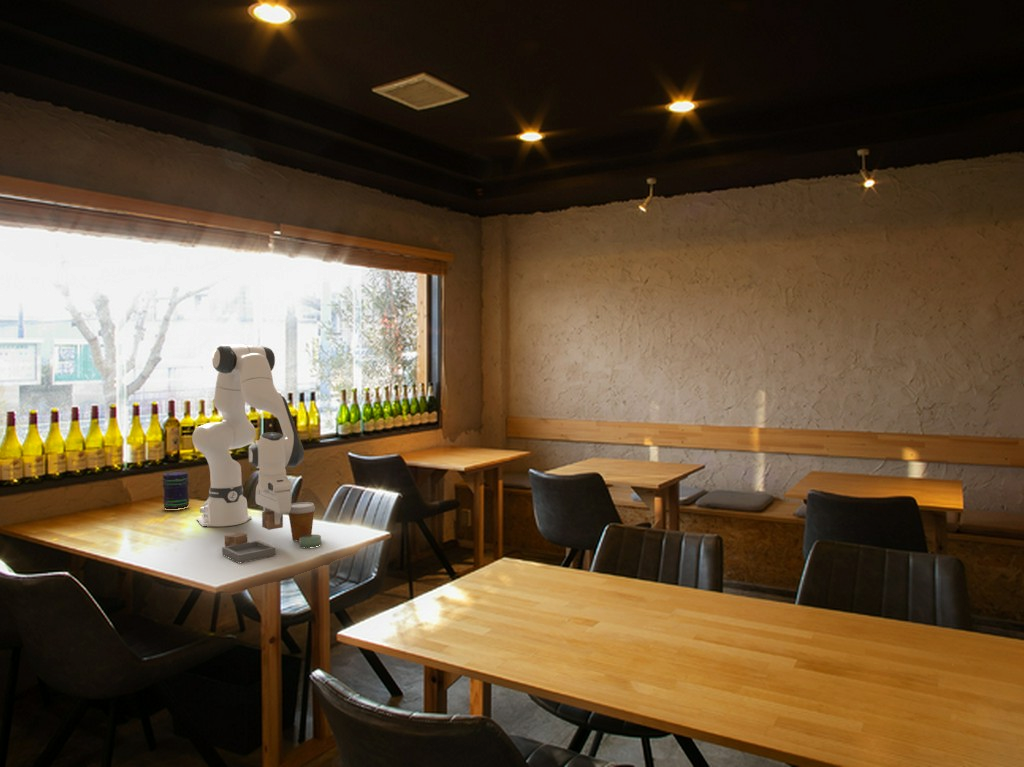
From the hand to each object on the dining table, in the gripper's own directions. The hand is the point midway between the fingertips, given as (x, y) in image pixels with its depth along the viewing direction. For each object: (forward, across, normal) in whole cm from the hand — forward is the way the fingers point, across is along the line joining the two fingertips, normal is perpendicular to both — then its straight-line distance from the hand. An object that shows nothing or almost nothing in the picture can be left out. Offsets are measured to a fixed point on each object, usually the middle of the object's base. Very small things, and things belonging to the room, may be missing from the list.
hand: (272, 522), depth 249 cm
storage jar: (+11, -86, -4) cm, 87 cm away
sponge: (+8, +8, +10) cm, 15 cm away
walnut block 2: (+2, 0, 0) cm, 2 cm away
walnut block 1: (+9, -5, -10) cm, 14 cm away
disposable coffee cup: (+8, -2, +12) cm, 14 cm away
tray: (+8, +5, -10) cm, 14 cm away
